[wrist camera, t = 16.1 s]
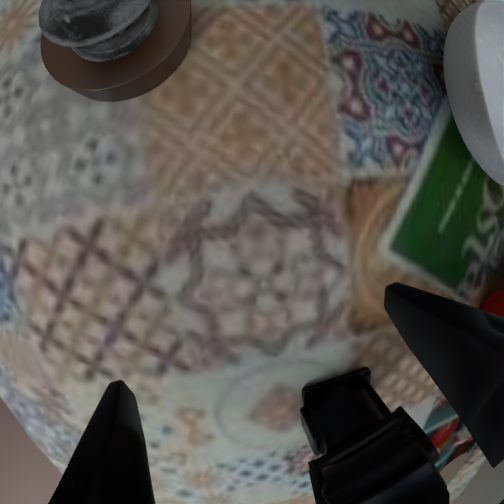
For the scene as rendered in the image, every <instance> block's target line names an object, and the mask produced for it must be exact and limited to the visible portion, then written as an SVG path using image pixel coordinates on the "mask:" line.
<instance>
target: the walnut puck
mask: <svg viewBox="0 0 504 504" xmlns="http://www.w3.org/2000/svg"><path fill="white" fill-rule="evenodd" d="M157 4H158V9H159V14H158V21H157V23H156V25H155V27H154V30H153V32H152V33H151V34H150V35H149V37H148V38H147V39H146V41H145V42H143V43H142V44H141V45H140V46H139V47H138V48H137V49H135V50H134V51H132V52H130V53H128V54H127V55H125V56H123V57H120V58H117V59H114V60H111V61H103V62H96V61H88V60H86V59H84V58H81V57H80V56H78V55H77V54H76V53H75V52H74V51H73V50H72V48H71V47H63V46H60V45H58V44H55V43H53V42H51V41H50V40H49V39H48V38H47V37H46V36H44V35H43V33H42V36H41V55H42V59H43V62H44V65H45V67H46V69H47V70H48V72H49V73H50V75H51V76H52V77H53V78H54V79H55V80H57V81H58V82H60V83H61V84H62V85H64V86H66V87H68V88H70V89H72V90H74V91H76V92H78V93H80V94H82V95H84V96H86V97H88V98H91V99H94V100H98V101H109V102H114V101H122V100H127V99H131V98H134V97H137V96H140V95H142V94H144V93H146V92H148V91H150V90H152V89H154V88H155V87H157V86H158V85H160V84H161V83H162V82H164V81H165V80H166V79H167V78H168V77H169V76H170V75H171V74H172V73H173V72H174V71H175V70H176V69H177V68H178V66H179V65H180V63H181V62H182V60H183V59H184V57H185V55H186V53H187V50H188V48H189V45H190V41H191V34H192V14H191V0H157Z"/></svg>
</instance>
